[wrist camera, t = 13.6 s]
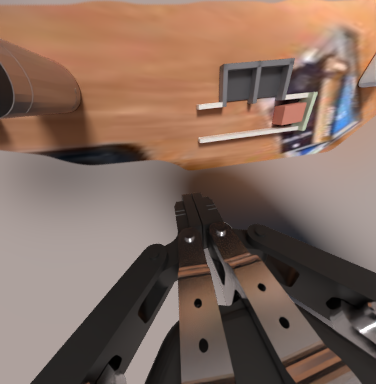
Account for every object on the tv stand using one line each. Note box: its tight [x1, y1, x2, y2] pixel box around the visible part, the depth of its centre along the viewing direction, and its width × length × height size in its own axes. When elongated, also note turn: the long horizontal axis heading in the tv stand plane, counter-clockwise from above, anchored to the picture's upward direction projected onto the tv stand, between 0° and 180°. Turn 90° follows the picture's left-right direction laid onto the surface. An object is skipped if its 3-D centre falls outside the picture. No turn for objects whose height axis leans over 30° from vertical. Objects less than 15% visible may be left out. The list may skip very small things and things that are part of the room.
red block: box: [272, 102, 307, 125], centre depth 39 cm, size 6×4×4 cm
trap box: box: [196, 58, 318, 143], centre depth 36 cm, size 30×16×4 cm, turn 95°
